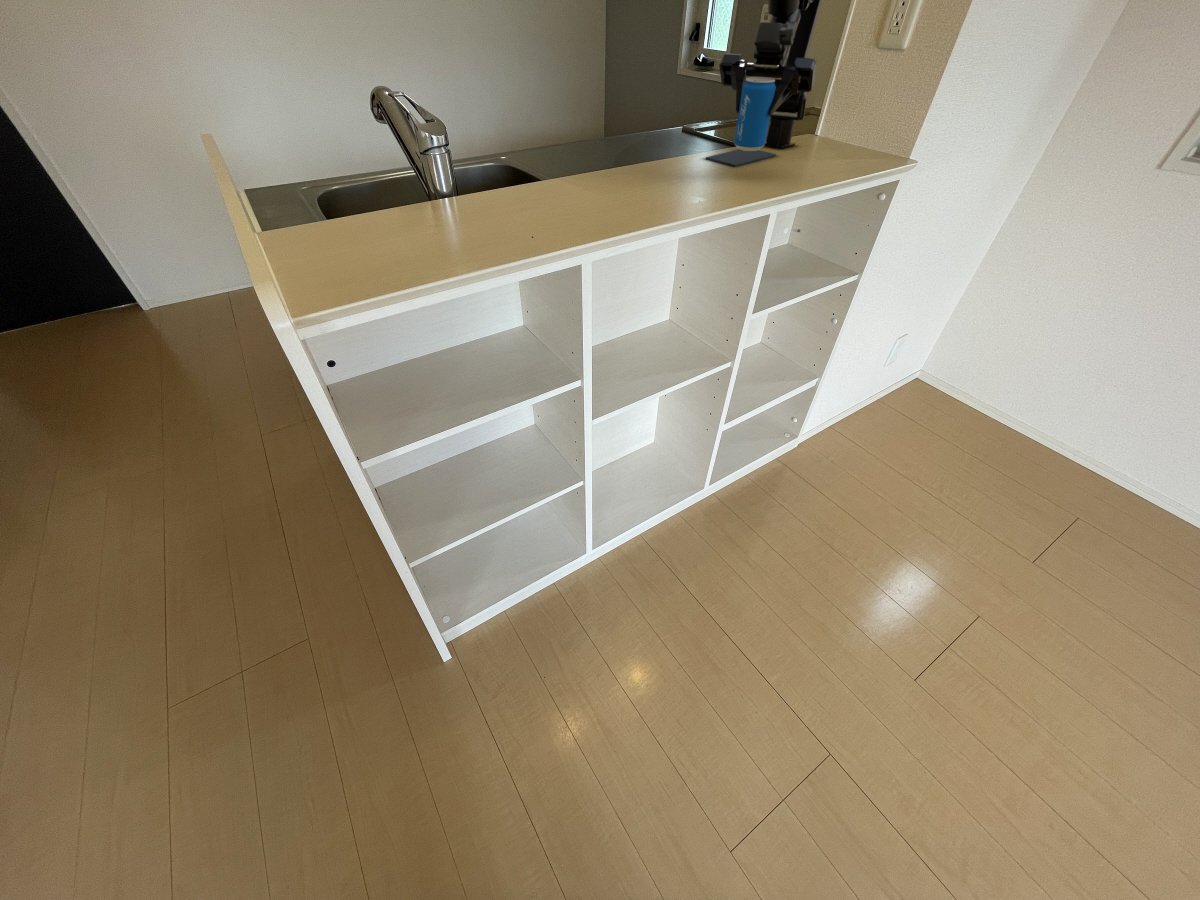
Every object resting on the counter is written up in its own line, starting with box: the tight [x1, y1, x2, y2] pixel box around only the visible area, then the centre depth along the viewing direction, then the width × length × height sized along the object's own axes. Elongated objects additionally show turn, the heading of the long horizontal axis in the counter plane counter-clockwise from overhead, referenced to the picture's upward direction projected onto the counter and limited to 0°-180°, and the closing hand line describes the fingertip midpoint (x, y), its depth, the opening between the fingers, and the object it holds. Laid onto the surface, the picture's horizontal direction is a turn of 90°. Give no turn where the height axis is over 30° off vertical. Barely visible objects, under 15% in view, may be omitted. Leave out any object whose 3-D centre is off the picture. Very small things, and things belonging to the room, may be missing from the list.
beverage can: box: [733, 76, 776, 151], centre depth 104 cm, size 6×6×12 cm
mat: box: [705, 149, 777, 168], centre depth 124 cm, size 16×9×1 cm, turn 130°
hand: (752, 112), depth 103 cm, fingers closed on beverage can, 6 cm apart
